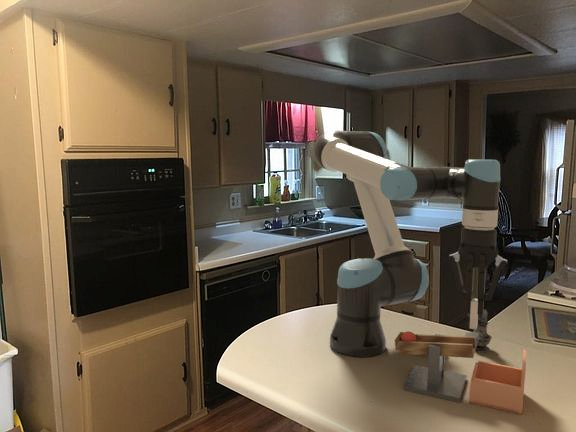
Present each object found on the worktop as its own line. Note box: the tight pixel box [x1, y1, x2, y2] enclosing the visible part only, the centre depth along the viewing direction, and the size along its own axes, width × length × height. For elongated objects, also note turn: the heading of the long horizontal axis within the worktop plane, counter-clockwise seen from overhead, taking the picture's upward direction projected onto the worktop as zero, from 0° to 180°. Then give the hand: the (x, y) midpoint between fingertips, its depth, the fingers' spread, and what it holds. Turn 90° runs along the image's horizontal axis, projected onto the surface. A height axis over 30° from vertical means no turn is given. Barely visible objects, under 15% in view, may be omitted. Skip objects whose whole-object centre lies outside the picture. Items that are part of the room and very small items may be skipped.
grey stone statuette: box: [472, 309, 493, 353], centre depth 133 cm, size 6×6×12 cm
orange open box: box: [468, 349, 527, 415], centre depth 107 cm, size 10×10×10 cm
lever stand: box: [402, 333, 467, 403], centre depth 113 cm, size 12×12×10 cm
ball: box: [401, 330, 416, 341], centre depth 115 cm, size 4×4×4 cm
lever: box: [394, 331, 479, 359], centre depth 116 cm, size 17×14×3 cm
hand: (473, 326), depth 115 cm, fingers closed
